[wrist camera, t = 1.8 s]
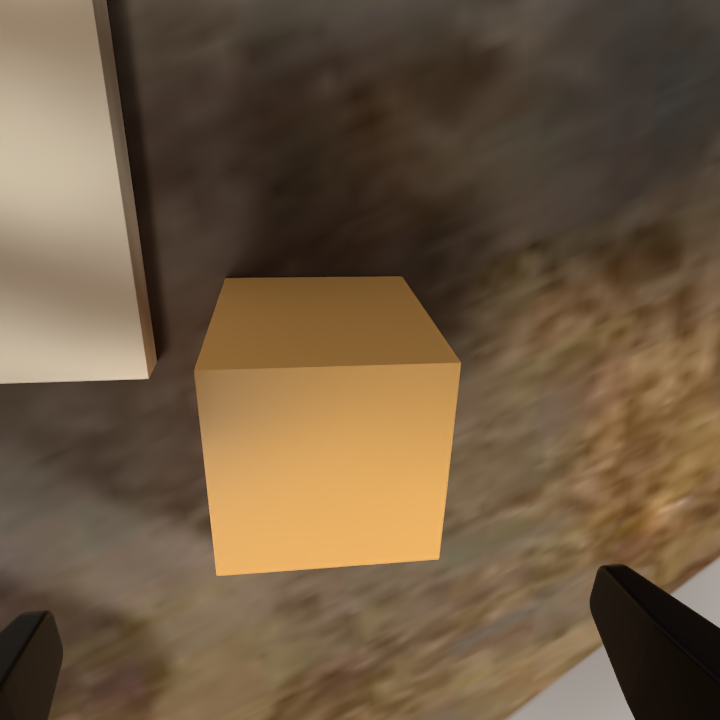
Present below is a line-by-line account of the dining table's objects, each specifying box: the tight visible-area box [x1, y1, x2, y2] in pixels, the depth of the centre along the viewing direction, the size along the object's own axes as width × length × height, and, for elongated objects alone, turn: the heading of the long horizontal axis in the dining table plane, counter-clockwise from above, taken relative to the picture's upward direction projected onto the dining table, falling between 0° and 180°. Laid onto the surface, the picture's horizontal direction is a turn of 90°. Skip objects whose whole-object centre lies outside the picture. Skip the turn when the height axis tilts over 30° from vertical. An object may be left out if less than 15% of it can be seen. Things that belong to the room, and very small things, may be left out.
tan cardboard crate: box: [194, 276, 461, 576], centre depth 15 cm, size 5×5×6 cm
